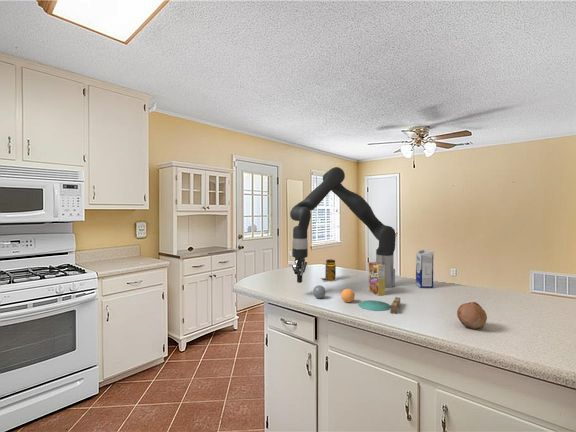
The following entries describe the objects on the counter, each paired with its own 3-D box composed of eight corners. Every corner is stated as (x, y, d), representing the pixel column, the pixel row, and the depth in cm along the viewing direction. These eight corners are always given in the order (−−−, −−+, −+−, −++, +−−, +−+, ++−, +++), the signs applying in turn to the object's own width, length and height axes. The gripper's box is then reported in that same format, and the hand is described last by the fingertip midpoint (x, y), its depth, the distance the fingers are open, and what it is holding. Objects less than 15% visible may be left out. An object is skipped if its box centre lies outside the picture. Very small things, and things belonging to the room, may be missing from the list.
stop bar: (395, 303, 144) (395, 297, 144) (400, 304, 143) (400, 297, 143) (390, 313, 132) (390, 305, 132) (395, 313, 131) (395, 306, 131)
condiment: (337, 281, 188) (337, 260, 187) (323, 281, 187) (323, 261, 186) (334, 278, 195) (334, 258, 195) (320, 278, 194) (320, 259, 193)
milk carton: (433, 288, 171) (433, 251, 171) (420, 288, 171) (421, 251, 171) (427, 285, 178) (428, 249, 178) (415, 284, 179) (416, 249, 178)
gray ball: (323, 295, 157) (323, 283, 157) (327, 299, 151) (327, 286, 151) (311, 296, 155) (311, 284, 155) (315, 300, 150) (315, 287, 149)
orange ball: (351, 299, 151) (351, 286, 150) (356, 303, 145) (356, 290, 145) (339, 300, 149) (339, 287, 149) (344, 304, 143) (344, 291, 143)
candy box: (368, 291, 165) (368, 261, 165) (375, 290, 167) (375, 261, 166) (377, 296, 157) (378, 265, 156) (385, 295, 158) (385, 264, 158)
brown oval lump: (473, 332, 120) (479, 306, 122) (489, 335, 110) (495, 307, 113) (449, 322, 120) (455, 296, 122) (463, 324, 111) (469, 297, 113)
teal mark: (380, 299, 150) (380, 299, 150) (397, 309, 136) (397, 308, 136) (352, 302, 147) (352, 301, 147) (367, 311, 133) (367, 311, 133)
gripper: (298, 245, 165) (298, 278, 165) (287, 248, 153) (286, 284, 153) (312, 246, 161) (311, 280, 162) (301, 249, 149) (301, 286, 150)
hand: (299, 282), depth 158 cm, fingers closed
